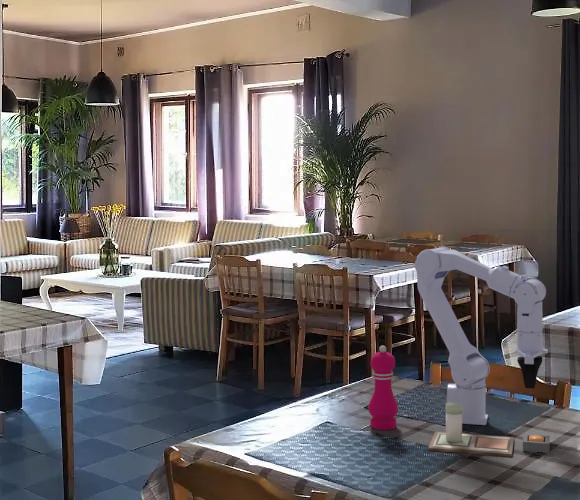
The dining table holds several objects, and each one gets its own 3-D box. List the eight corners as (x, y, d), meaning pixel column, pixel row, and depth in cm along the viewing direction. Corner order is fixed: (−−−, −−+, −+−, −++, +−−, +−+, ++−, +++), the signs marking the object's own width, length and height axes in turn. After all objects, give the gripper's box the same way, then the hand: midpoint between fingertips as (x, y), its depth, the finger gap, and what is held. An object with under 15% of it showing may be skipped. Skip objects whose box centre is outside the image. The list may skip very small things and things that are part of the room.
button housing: (522, 451, 189) (522, 441, 189) (523, 443, 194) (523, 434, 194) (549, 453, 187) (549, 443, 187) (549, 445, 193) (549, 435, 192)
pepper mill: (397, 431, 205) (396, 349, 203) (366, 430, 206) (366, 348, 204) (399, 422, 212) (398, 343, 210) (370, 421, 213) (369, 342, 211)
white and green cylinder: (444, 441, 194) (443, 405, 193) (447, 436, 197) (447, 401, 197) (460, 443, 193) (460, 407, 192) (463, 438, 196) (463, 403, 195)
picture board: (428, 450, 191) (428, 446, 191) (435, 433, 202) (435, 430, 202) (511, 456, 186) (511, 453, 185) (514, 439, 197) (514, 436, 197)
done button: (528, 447, 190) (528, 439, 189) (529, 442, 193) (529, 434, 192) (543, 448, 189) (543, 440, 189) (543, 443, 192) (543, 435, 192)
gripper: (547, 337, 193) (547, 396, 194) (547, 325, 207) (547, 381, 208) (515, 336, 195) (515, 394, 197) (517, 325, 209) (517, 379, 210)
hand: (529, 387), depth 203 cm, fingers closed
